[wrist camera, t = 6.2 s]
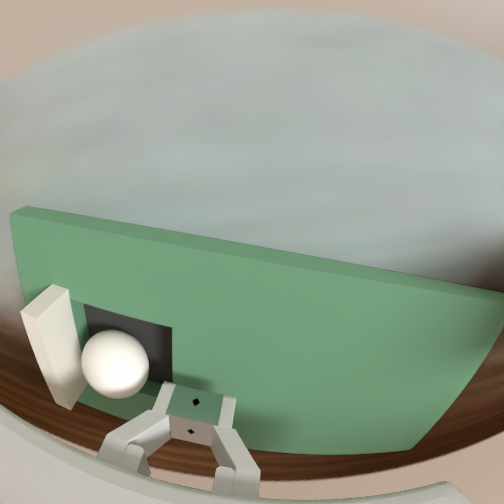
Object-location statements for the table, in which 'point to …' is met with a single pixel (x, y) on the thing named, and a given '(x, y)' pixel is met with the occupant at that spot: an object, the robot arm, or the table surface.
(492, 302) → the green
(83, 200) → the table surface
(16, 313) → the table surface
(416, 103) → the table surface
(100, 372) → the ball
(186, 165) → the table surface
